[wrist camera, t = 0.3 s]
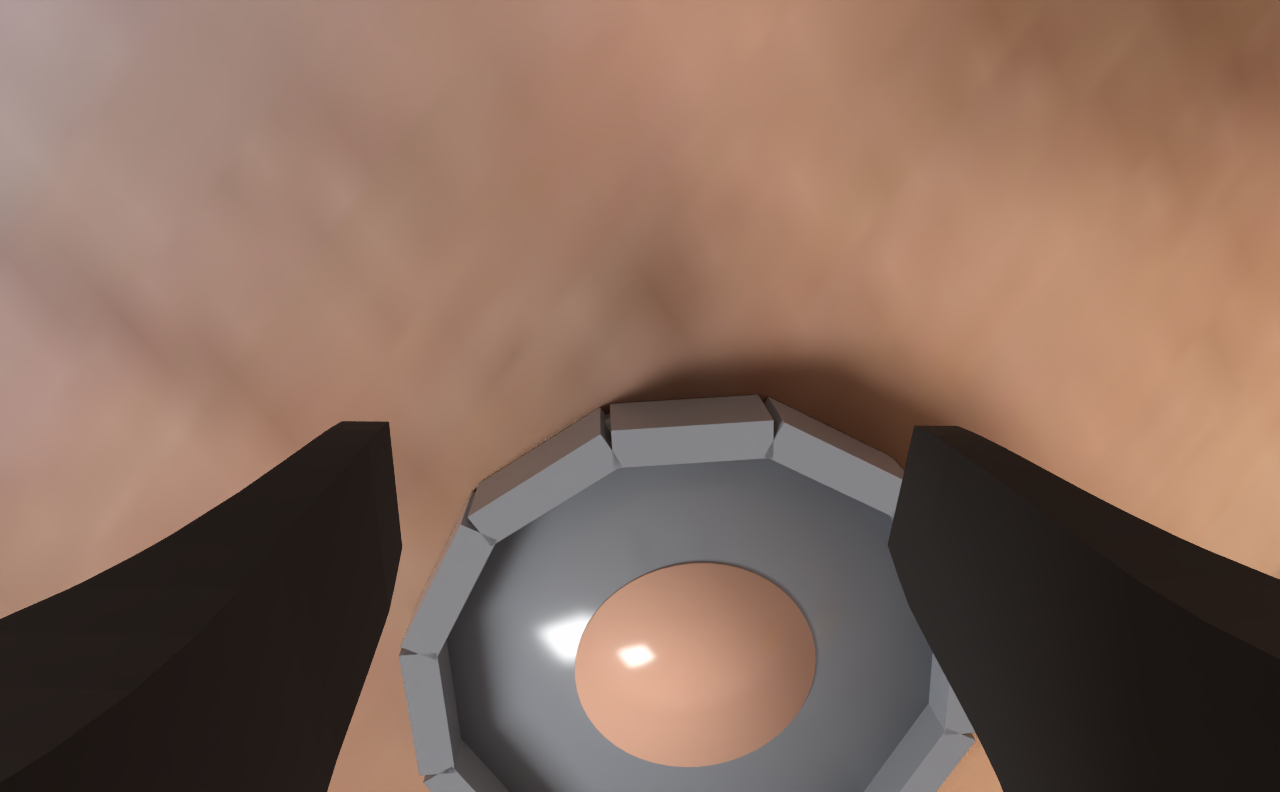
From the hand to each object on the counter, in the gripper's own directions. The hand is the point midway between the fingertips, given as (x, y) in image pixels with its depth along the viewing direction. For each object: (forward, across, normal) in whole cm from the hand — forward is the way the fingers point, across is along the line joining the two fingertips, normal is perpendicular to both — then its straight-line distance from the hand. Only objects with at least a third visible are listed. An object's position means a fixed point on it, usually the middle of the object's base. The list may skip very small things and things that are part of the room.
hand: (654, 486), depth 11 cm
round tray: (+9, -2, +12) cm, 15 cm away
